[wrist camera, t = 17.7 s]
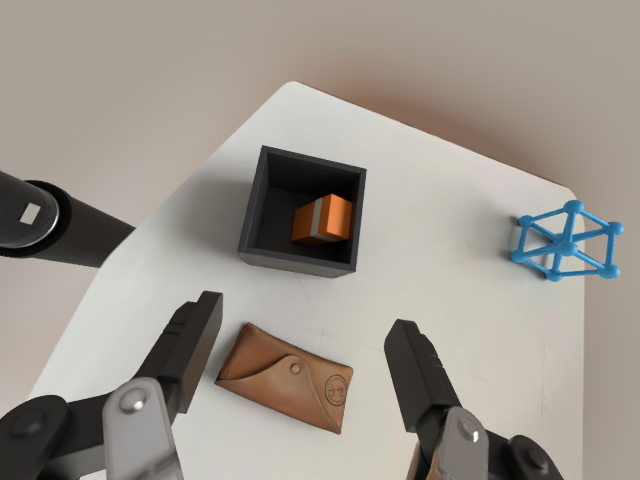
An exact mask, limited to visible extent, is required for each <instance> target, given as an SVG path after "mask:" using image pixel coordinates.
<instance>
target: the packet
mask: <svg viewBox="0 0 640 480" xmlns="http://www.w3.org/2000/svg"><path fill="white" fill-rule="evenodd" d="M351 212H352V203H351V202H349V201H347V200H344V199H342V198H340V197H338V196H336V195H333V194H330V195H328V196H326V197H323V198H320V199H318V200H316V201H314V202H312V203H310V204H308V205H306V206H303V207H301V208H299V209H297V210H296V213H295V219H294V225H293V230H292V236H291V241H294V242H297V243H301V244H304V245H308V246H314V245H319V244H324V243H330V242H337V241H340V240H345V239H349V231H350V221H351Z"/></svg>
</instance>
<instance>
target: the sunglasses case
mask: <svg viewBox="0 0 640 480" xmlns="http://www.w3.org/2000/svg"><path fill="white" fill-rule="evenodd" d="M352 375H353V369H352V368H351V367H349V366H346V365H342V364H338V363H335V362H332V361H329V360H326V359H324V358H321V357H319V356H316V355H314V354H312V353H309V352H307V351H305V350H303V349H300V348H298V347H296V346H293V345H291V344H289V343H287V342H285V341H283V340H280V339H279V338H276V337H274V336H272V335H270V334H268V333H267V332H265V331H263V330H261V329H260V328H258V327H256V326H255V325H253V324H251V323H247V324H246V325H244V327H243V328H242V330H241V332H240V334H239V336H238V338H237V340H236V342H235V344H234V346H233V347H232V349H231V351H230V353H229V355H228V356H227V358H226V360H225V362H224V364H223V366H222V368H221V370H220V372H219V375H218V377H217V379H216V381H215V382H214V384H216V385H218V386H221V387H223V388H225V389H227V390H229V391H231V392H233V393H235V394H238V395H240V396H242V397H244V398H246V399H249V400H251V401H254V402H256V403H258V404H261V405H263V406H266V407H268V408H270V409H273V410H275V411H278V412H280V413H282V414H285V415H287V416H290V417H292V418H295V419H297V420H300V421H302V422H305V423H307V424H310V425H312V426H315V427H318V428H321V429H324V430H327V431H330V432H333V433H336V434H338V435H339V434H341V427H342V420H343V414H344V408H345V402H346V396H347V390H348V387H349V384H350V381H351V378H352Z"/></svg>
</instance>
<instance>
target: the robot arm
mask: <svg viewBox="0 0 640 480" xmlns="http://www.w3.org/2000/svg"><path fill="white" fill-rule="evenodd" d="M61 217H62V209H61V205H60V203H59V201H58V200H57V198H56V197H55V196H54V195H53V194H51V193H50V192H48V191H46V190H43V189H41V188H38V187H35V186H33V185H31V184H28V183H26V182H24V181H22V180H20V179H18V178H15V177H13V176H11V175H9V174H7V173H4V172H2V171H0V246H1V247H6V248H13V249H19V248H26V247H30V246H34V245H36V244H38V243H40V242H42V241H44V240H45V239H47V238H48V237H49V236H51V235H52V234H53V232H54V231H55V230H56V229H57V227H58V225H59V223H60V221H61ZM222 316H223V293H218V292H211V291H203V292H202V294H201V296H200V298H199V299H198V301H197V303H196V302H189V301H187V302H186V303H185V304H184V305H182V306H181V307H180V308H178V309H177V310H176V311H175V313H174V315H173V316H172V318H171V319H170V321H169V324H167V326H166V327H165V329H164V330H163V333H162V334H161V335H160V337H159V338H158V340H157V341H156V343H155V345H154V346H153V348H152V349H151V351H150V352H149V354H148V356H147V357H146V359H145V360H144V362H143V364H142V365H141V367H140V368H139V370H138V371H137V373H136V374H135V375H134V376H133V377H132V378H131V379H130V380H129V381H128V382H126V383H124V384H122V385H121V386H120V387H118V388H117V389H116V390H114V391H112V392H110V393H107V394H104V395H101V396H96V397H92V398H87V399H82V400H78V401H73V402H69V403H66V401H65V400H64V399H63V398H62V397H60V396H57V395H45V396H40V397H36V398H33V399H31V400H28V401H26V402H24V403H22V404H20V405H19V406H17V407H16V408H14V409H12V410H11V411H10V412H8V413H7V414H6V415H5V416H3V417H2V418H1V419H0V480H79V479H80V477H81V476H84V475H87V474H91V473H94V472H97V471H100V470H103V469H106V476H107V480H184V478H183V474H182V470H181V466H180V462H179V458H178V454H177V451H176V447H175V442H174V438H173V434H172V430H171V426H172V424H173V422H174V419H175V417H176V415H177V413H184V414H186V413H187V411H188V408H189V406H190V403H191V400H192V398H193V395H194V393H195V390H196V388H197V385H198V383H199V380H200V378H201V375H202V373H203V370H204V368H205V365H206V363H207V360H208V358H209V355H210V353H211V350H212V348H213V345H214V343H215V340H216V338H217V335H218V333H219V330H220V327H221V323H222ZM384 351H385V355H386V359H387V363H388V366H389V370H390V374H391V377H392V381H393V385H394V389H395V392H396V396H397V400H398V403H399V407H400V411H401V414H402V418H403V422H404V425H405V429H406V432H410V433H417V435H418V438H419V440H418V442H417V444H416V447H415V450H414V454H413V457H412V461H411V464H410V468H409V471H408V475H407V478H406V480H564V479H563V478H562V476H561V474H560V473H559V471H558V469H557V468H556V466H555V464H554V463H553V461H552V460H551V458H550V457H549V456H548V454H547V453H546V452H545V451H544V450H543V449H542V448H541V447H540V446H539V445H538V444H537V443H536V442H534V441H533V440H531V439H530V438H528V437H526V436H523V435H516V436H514V437H513V438H511V439H510V440H508V439H506V438H504V437H501V436H499V435H497V434H495V433H493V432H491V431H488V430H486V429H484V427H483V426H482V424H481V423H480V421H479V420H478V419H477V418H476V417H475V416H474V415H473V414H472V413H470V412H469V411H467V410H466V409H464V408H463V407H462V405H461V403H460V401H459V399H458V397H457V395H456V393H455V391H454V389H453V386H452V384H451V382H450V380H449V378H448V376H447V374H446V372H445V369H444V368H443V367H442V366H443V365H442V363H441V361H440V359H439V358H438V355H437V352H436V350H435V348H434V346H433V344H432V343H431V342H430V341H429V340H428V338H427V337H426V336H425V335H424V334H421V333H420V331H419V329H418V327H417V325H416V323H415V322H414V321H408V320H401V319H397V320H396V321H395V323H394V325H393V326H392V328H391V330H390V332H389V333H388V335H387V337H386V339H385V343H384Z"/></svg>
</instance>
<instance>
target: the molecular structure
mask: <svg viewBox="0 0 640 480" xmlns="http://www.w3.org/2000/svg"><path fill="white" fill-rule="evenodd" d="M583 209H584V204H583V203H582V202H581V201H578V200H571V201H568V202H567V203H565V205H564V207H563V208H562V209H558V210H555V211H552V212H549V213H545V214H542V215H539V216H536V217H532V216H529V215H525V216H522V217H521V218H520V219H519V224H520V225H521V226H522V227H523V228H522V233H521V237H520V242H519V246H518V250H516V251H514V252H512V254H511V259H512V260H513V261H514V262H516V263H522V262H525V263H527V264H529V265H531V266H533V267H535V268H537V269H539V270H541V271H543V272H544V273H545V276H546V278H547V279H548V280H550V281H555V282H556V281H559V280H561V279H562V277H564V276H578V275H593V274H599V275H600V276H601V277H604V278H607V279H611V278H615V277H617V276H618V275H619V274H620V269H619V268H618V267H617V266H616V265H613V256H614V246H615V236H616V235H619V234H621V233H622V232H623V231H624V227H623V225H622V224H620V223H618V222H608V223H607V222H605V221H603V220H601V219H599V218H597V217H596V216H594V215H592V214H590V213H589V212H587V211H585V210H583ZM564 212H566V213H568V217H567V221H566V224H565V228H564V231H563V234H562V233H559V234H554V233H552V232H550V231H548V230H546V229H544V228H542V227H541V226H539V225H537V224H535V223H534V222H535V221H536V220H540V219H543V218H547V217H550V216H553V215H557V214H560V213H564ZM578 213H579V214H581V215H583V216H585V217H587V218H589V219H590V220H592V221H594V222H596V223H598V224H600V225H602V229H598V230H593V231H589V232H584V233H579V234H574V235H572V234H573V228H574V222H575V215H576V214H578ZM530 226H531V227H533V228H534V229H536V230H537V231H539V232H541V233H542V234H544V235H546V236H547V237H549V238H550V239H552V242H553V243H554V244H552V245H549V246H545V247H542V248H539V249H535V250H532V251H529V252H523V247H524V242H525V238H526V233H527V229H528V227H530ZM602 234H606V235H608V245H607V254H606V263H605V264H601V263H599V262H597V261H596V260H594V259H592V258H591V257H589V256H588V255H586V254H584V253H583V252H581V251H579V250H578V247H577V245H576V244H575V243H574V242H578V241H581V240H584V239H587V238H591V237H595V236H598V235H602ZM552 253H555V256H554V261H553V267H552V269H549V270H548V269H546V268H544V267H542V266H540V265H538V264H536V263H534V262H532V261H531V260H529V259H527V257H532V256H539V255H545V254H552ZM572 255H574V256H576V257H578V258H580V259H581V260H583V261H585V262H587V263H589V264H591V265H593V266H594V267H596V268H597V270H586V271H574V272H560V271H559V270H558V269H559V266H560V262H561V259H562V256H572Z"/></svg>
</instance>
